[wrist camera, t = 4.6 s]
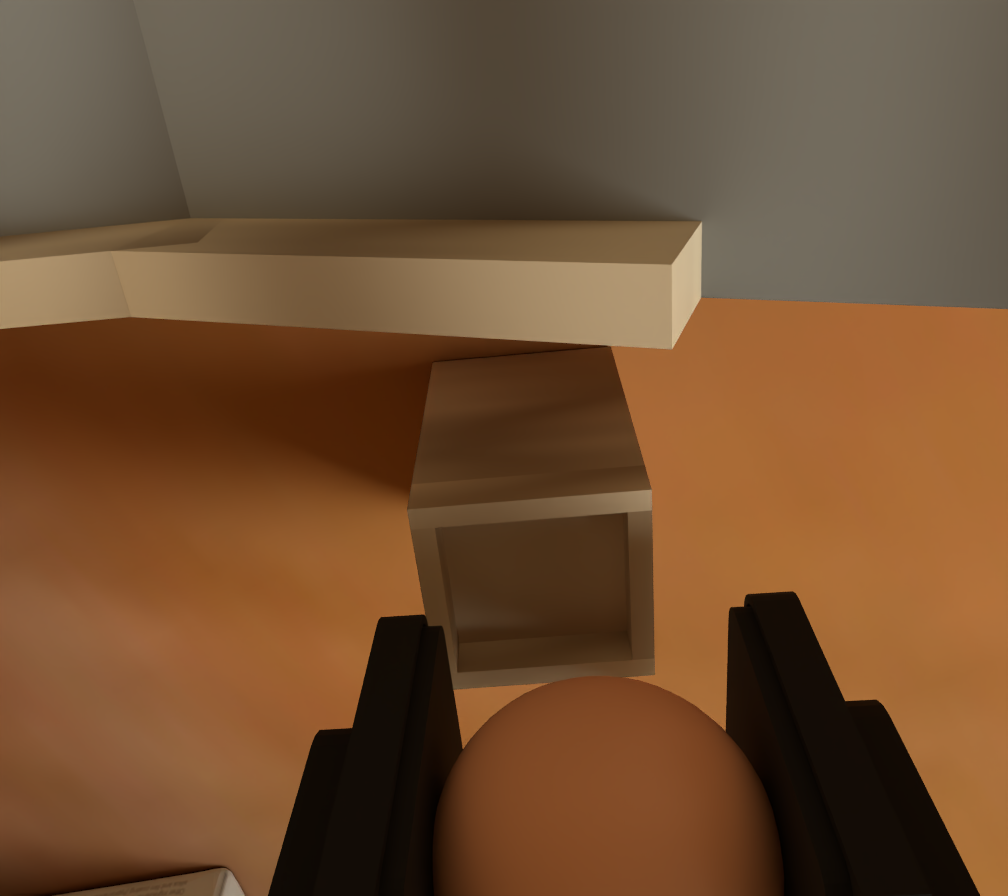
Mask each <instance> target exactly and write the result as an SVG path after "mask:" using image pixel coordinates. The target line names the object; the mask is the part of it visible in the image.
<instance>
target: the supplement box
mask: <svg viewBox="0 0 1008 896" xmlns="http://www.w3.org/2000/svg"><path fill="white" fill-rule="evenodd" d="M54 896H245V894H244V893H243V891H242V889H241V887H240V885H239V884H238V882H237V880H236V879H235V877H234V875H233V874H232V872H231V871H230V870H228V869H227V868H217V869H212V870H207V871H202V872H197V873H191V874H185V875H179V876H172V877H166V878H160V879H154V880H148V881H142V882H136V883H130V884H123V885H117V886H111V887H104V888H98V889H92V890H86V891H79V892H73V893H67V894H60V895H54Z"/></svg>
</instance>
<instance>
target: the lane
mask: <svg viewBox="0 0 1008 896" xmlns="http://www.w3.org/2000/svg"><path fill="white" fill-rule="evenodd" d="M701 297H703V298H730V299H757V300H783V301H810V302H836V303H863V304H890V305H916V306H943V307H970V308H996V309H1008V0H0V329H5V328H16V327H27V326H38V325H49V324H60V323H70V322H81V321H92V320H103V319H114V318H125V317H139V318H156V319H173V320H190V321H206V322H223V323H240V324H257V325H273V326H290V327H307V328H324V329H340V330H357V331H374V332H391V333H407V334H424V335H441V336H458V337H475V338H491V339H508V340H525V341H542V342H558V343H575V344H592V345H609V346H625V347H642V348H659V349H673V347H674V345H675V343H676V341H677V340H678V338H679V336H680V334H681V332H682V331H683V329H684V327H685V325H686V323H687V322H688V320H689V318H690V316H691V314H692V313H693V311H694V309H695V307H696V305H697V304H698V302H699V300H700V298H701Z"/></svg>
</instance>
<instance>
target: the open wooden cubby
mask: <svg viewBox="0 0 1008 896" xmlns="http://www.w3.org/2000/svg"><path fill="white" fill-rule="evenodd" d="M407 512H408V518H409V523H410V529H411V535H412V541H413V546H414V552H415V558H416V564H417V569H418V575H419V581H420V587H421V592H422V598H423V604H424V609H425V615H426V619H427V622H428V626H439V625H441V626H442V627H443V629H444V634H445V640H446V646H447V653H448V659H449V665H450V672H451V678H452V684H453V690H454V689H468V688H482V687H496V686H509V685H523V684H537V683H551V682H556V681H561V680H565V679H570V678H576V677H585V676H612V677H634V676H648V675H655V660H654V599H653V539H652V489H651V485H650V482H649V479H648V475H647V472H646V468H645V465H644V461H643V458H642V454H641V451H640V447H639V444H638V440H637V437H636V433H635V430H634V426H633V423H632V419H631V416H630V412H629V409H628V405H627V402H626V398H625V395H624V391H623V388H622V384H621V381H620V377H619V374H618V370H617V367H616V364H615V360H614V357H613V353H612V350H611V347H599V348H588V349H577V350H566V351H554V352H543V353H532V354H520V355H509V356H498V357H486V358H475V359H464V360H452V361H441V362H433V364H432V369H431V375H430V381H429V387H428V392H427V398H426V404H425V410H424V415H423V421H422V427H421V433H420V438H419V444H418V450H417V456H416V461H415V467H414V473H413V478H412V484H411V490H410V496H409V501H408V507H407Z"/></svg>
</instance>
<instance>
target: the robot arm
mask: <svg viewBox="0 0 1008 896" xmlns="http://www.w3.org/2000/svg"><path fill="white" fill-rule="evenodd" d="M726 733H727V734H728V735H729V736H730V737H731V738H732V739H733V740H734V742H735V743H736V744H737V745H738V746H739V748H740V749H741V750H742V751H743V753H744V754H745V756H746V757H747V759H748V760H749V762H750V763H751V765H752V766H753V768H754V770H755V771H756V773H757V775H758V777H759V778H760V780H761V782H762V784H763V786H764V789H765V791H766V793H767V796H768V798H769V801H770V804H771V806H772V809H773V813H774V817H775V821H776V825H777V829H778V834H779V839H780V846H781V853H782V860H783V869H784V896H980V894H979V892H978V890H977V888H976V886H975V884H974V882H973V880H972V878H971V876H970V874H969V872H968V870H967V868H966V866H965V864H964V862H963V860H962V858H961V856H960V854H959V853H958V851H957V849H956V847H955V845H954V843H953V841H952V839H951V837H950V835H949V833H948V831H947V829H946V827H945V825H944V823H943V821H942V819H941V817H940V815H939V813H938V811H937V809H936V807H935V805H934V803H933V801H932V799H931V797H930V795H929V793H928V791H927V789H926V787H925V785H924V783H923V781H922V779H921V777H920V775H919V773H918V771H917V769H916V767H915V765H914V763H913V761H912V759H911V757H910V755H909V753H908V751H907V749H906V747H905V745H904V743H903V741H902V739H901V737H900V735H899V733H898V732H897V730H896V728H895V726H894V724H893V722H892V720H891V718H890V716H889V714H888V712H887V711H886V709H885V708H884V706H883V705H882V704H881V703H880V702H879V701H877V700H861V701H845V700H844V698H843V696H842V694H841V691H840V689H839V687H838V685H837V682H836V680H835V678H834V676H833V674H832V671H831V669H830V667H829V665H828V662H827V660H826V658H825V656H824V654H823V651H822V649H821V647H820V645H819V643H818V640H817V638H816V636H815V634H814V631H813V629H812V627H811V625H810V623H809V620H808V618H807V616H806V614H805V611H804V609H803V607H802V605H801V603H800V600H799V598H798V597H797V595H796V593H794V592H793V591H792V592H776V593H760V594H748V595H746V597H745V601H744V607H731V608H730V610H729V624H728V664H727V705H726ZM462 750H463V748H462V741H461V735H460V729H459V722H458V716H457V710H456V703H455V697H454V691H453V684H452V678H451V672H450V665H449V659H448V653H447V646H446V640H445V634H444V629H443V627H442V626H441V625H439V626H428V622H427V619H426V616H425V615H409V616H393V617H381V618H380V619H379V621H378V623H377V627H376V631H375V635H374V640H373V644H372V648H371V652H370V656H369V660H368V665H367V669H366V673H365V677H364V681H363V686H362V690H361V694H360V698H359V702H358V706H357V711H356V715H355V719H354V723H353V727H352V728H348V729H330V730H319V732H318V733H317V734H316V735H315V737H314V740H313V743H312V745H311V748H310V752H309V755H308V759H307V762H306V765H305V769H304V772H303V776H302V779H301V783H300V786H299V790H298V793H297V797H296V800H295V804H294V807H293V811H292V814H291V817H290V821H289V824H288V828H287V831H286V835H285V838H284V842H283V845H282V849H281V852H280V856H279V859H278V863H277V866H276V869H275V873H274V876H273V880H272V883H271V887H270V890H269V894H268V896H434V888H433V834H434V822H435V816H436V810H437V806H438V802H439V799H440V796H441V793H442V790H443V787H444V785H445V782H446V780H447V778H448V776H449V773H450V771H451V769H452V767H453V765H454V764H455V762H456V760H457V759H458V757H459V755H460V753H461V752H462Z"/></svg>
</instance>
